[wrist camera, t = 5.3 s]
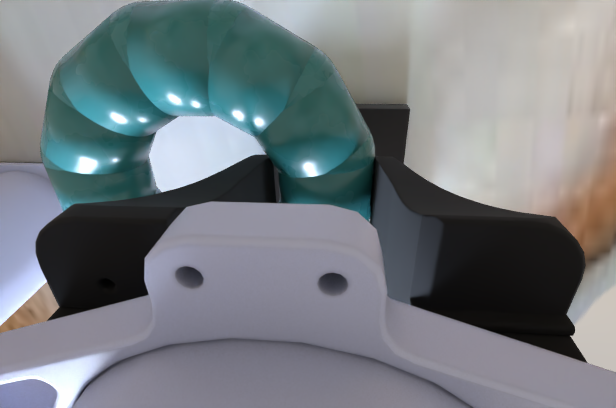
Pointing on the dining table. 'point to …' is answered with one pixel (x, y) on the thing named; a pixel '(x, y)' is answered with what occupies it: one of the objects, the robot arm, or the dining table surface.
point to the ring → (202, 103)
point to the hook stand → (380, 131)
